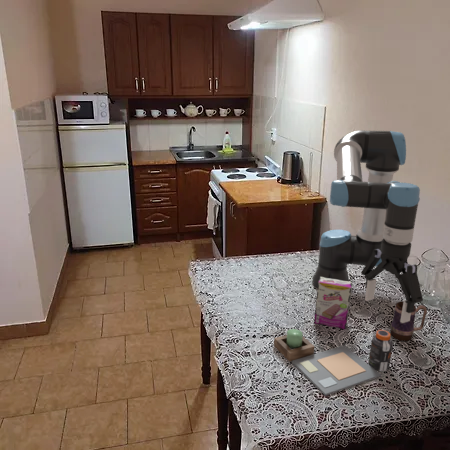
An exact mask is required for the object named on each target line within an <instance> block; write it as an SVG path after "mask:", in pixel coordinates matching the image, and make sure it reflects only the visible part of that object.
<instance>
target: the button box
mask: <svg viewBox="0 0 450 450" xmlns="http://www.w3.org/2000/svg"><path fill="white" fill-rule="evenodd" d="M286 342H287V334H285V335H280V336H277V337H274V339H273V347H274V348H275V349H276V350H277V351H278V352H279V353H280V354H281V355H282V356H283V357H284V358H285V359H286V360H287V361H288V362H289V363H292V361H293V360H296V359H300V358H303V357H306V356H310V355H313V354H315V349H316V348H315V345H314V344H313V343H311V341H309V340H308V339H307V338H306V337H305V336H303V337H302V346H301V347H299V348H295V349H292V348H290V347H288V346H287V344H286Z"/></svg>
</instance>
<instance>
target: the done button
mask: <svg viewBox="0 0 450 450" xmlns="http://www.w3.org/2000/svg"><path fill="white" fill-rule="evenodd" d="M286 335H287V342H286V344H287V346H288V347H289V348H290V349H291V350H292V349H295V348H299V347H301V346H302V337H304V336H303V332H302V331H301V330H299V329H296V328H292V329H291V328H290V329H288V330H287V332H286Z"/></svg>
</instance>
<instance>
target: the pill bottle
mask: <svg viewBox="0 0 450 450" xmlns="http://www.w3.org/2000/svg"><path fill="white" fill-rule="evenodd" d="M391 337H392V336H391V334H390V332H389V331H387V330H384V329H379V330H377V331H376V333H375V335H374V336H373V337H372V338H371V342H370V349H369V356H368V361H367V362H368V363H367V364H369V365H370V366H371V367H372V368H374V369H375V370H376V371H377V372H386V371H388V370H389V369H390V364H391V358H392V353H393V352H392V351H393V345H394V344H393V342H394V341H393V340H392V338H391Z"/></svg>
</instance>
